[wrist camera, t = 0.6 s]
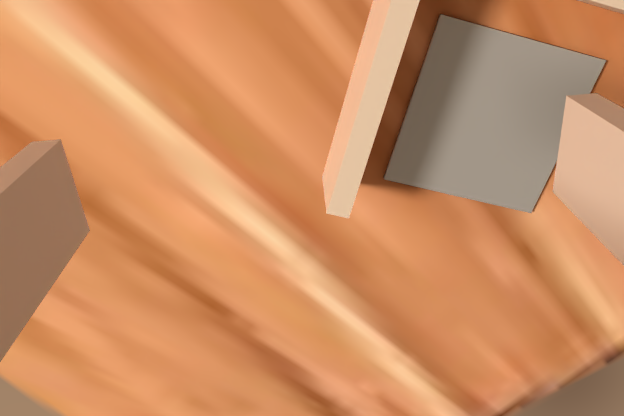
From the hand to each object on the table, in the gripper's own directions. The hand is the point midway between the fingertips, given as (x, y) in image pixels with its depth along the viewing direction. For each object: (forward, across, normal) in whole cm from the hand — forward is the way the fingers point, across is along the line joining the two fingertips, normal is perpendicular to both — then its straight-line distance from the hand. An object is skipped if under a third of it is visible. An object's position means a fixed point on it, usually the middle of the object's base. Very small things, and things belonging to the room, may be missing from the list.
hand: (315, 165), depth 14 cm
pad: (+23, +13, -8) cm, 28 cm away
